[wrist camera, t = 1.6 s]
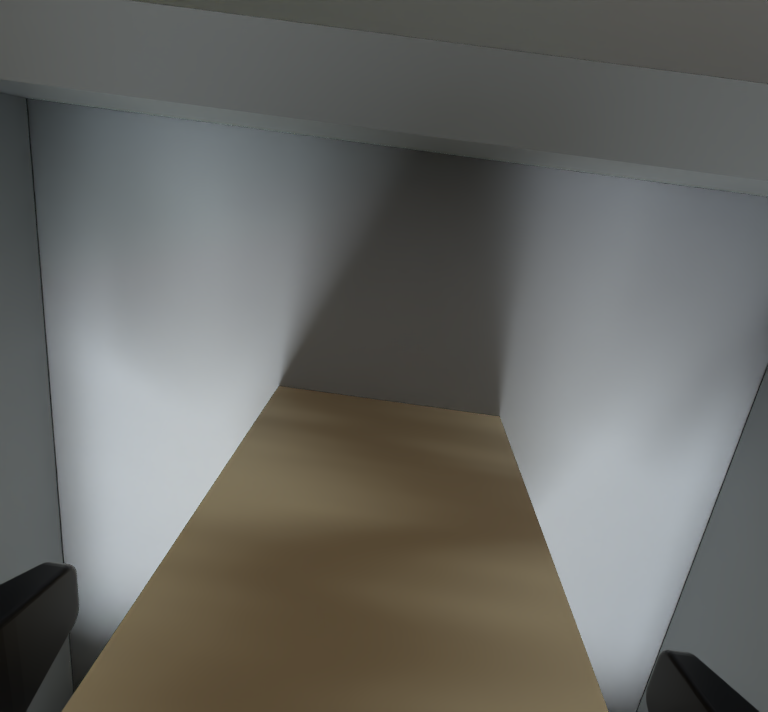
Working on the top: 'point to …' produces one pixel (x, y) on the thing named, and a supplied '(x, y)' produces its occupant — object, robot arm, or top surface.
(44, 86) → the slate bin
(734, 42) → the top surface
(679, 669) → the robot arm
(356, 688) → the maple block
